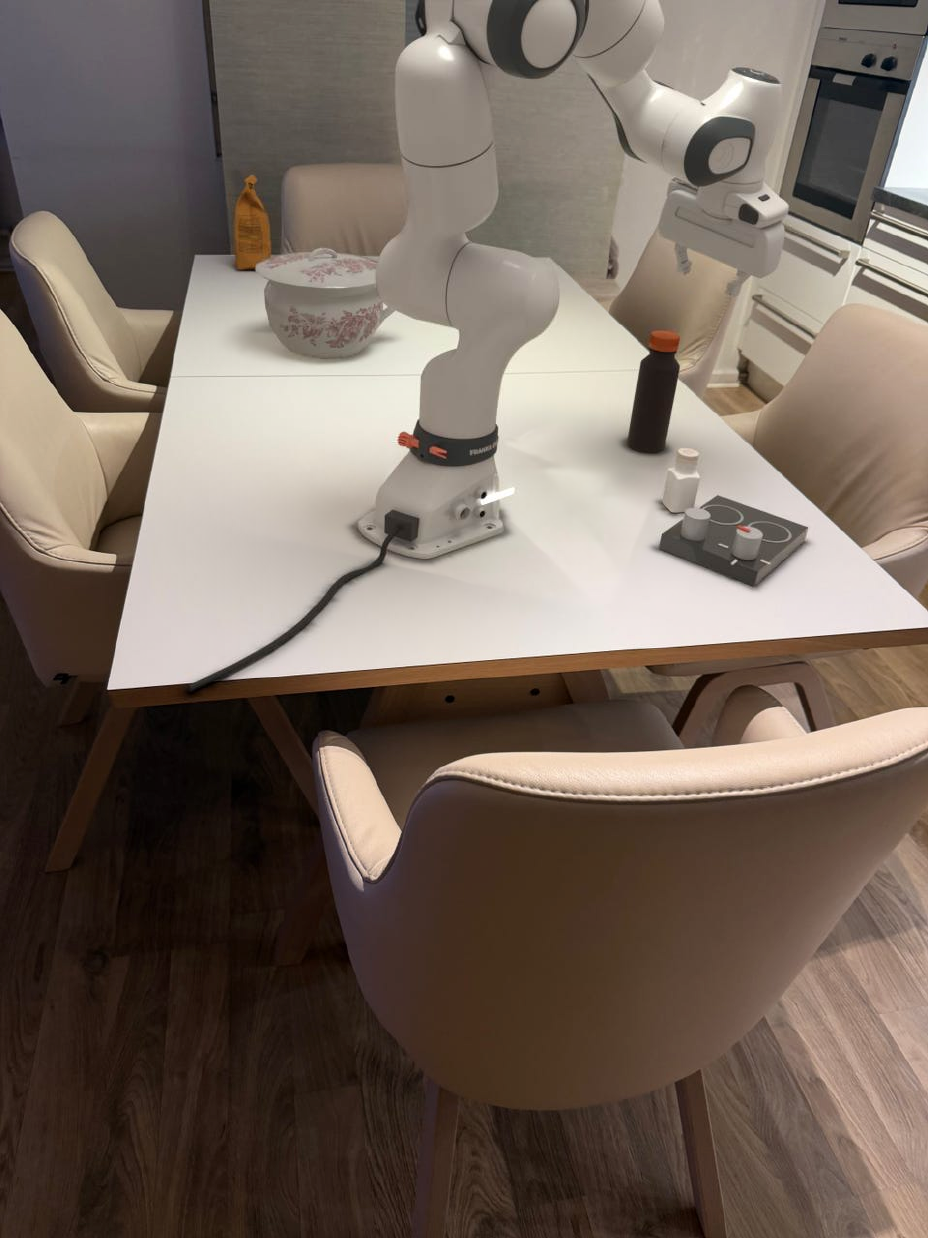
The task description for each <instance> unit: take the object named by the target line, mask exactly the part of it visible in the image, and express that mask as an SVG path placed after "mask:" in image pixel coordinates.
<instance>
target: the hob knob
mask: <svg viewBox="0 0 928 1238" xmlns="http://www.w3.org/2000/svg"><path fill="white" fill-rule="evenodd" d="M762 537H763V534H762V532H761V531H760V530H758V529H756V528H753V527H747V526H743V527H742V526H738V528H737V530H736V534H735V538H734V542H733V546H732V550H731V553H732V555H733V556H735V557H736V558H739V559H742V560H754V559H756V558H757V555H758V552H759V548H760V544H761V540H762Z"/></svg>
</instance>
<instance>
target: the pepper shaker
mask: <svg viewBox="0 0 928 1238" xmlns="http://www.w3.org/2000/svg"><path fill="white" fill-rule="evenodd" d="M699 456H700V453H699V451H698V450H697V449H694V448H691V447H690V448H689V447H682V448H679V449H678V450H677V453H676V459H675V466H673V467H670V468H669V469H668V470H667V474H666V479H665V483H664V490H663V494H662V498H661V499H662V501H661V502H662V504H663V505H664V507H665V508H667V509H668V511H670V512H671V513H676V514H677V513H685V511H686V510H687V509H688V508H695V504H696V499H697V495H698V490H699V485H700V480H701V475H700V474H699V473H698V471H697V470H696V468H697V466H698V461H699Z"/></svg>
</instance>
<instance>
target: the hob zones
mask: <svg viewBox="0 0 928 1238" xmlns="http://www.w3.org/2000/svg"><path fill="white" fill-rule="evenodd" d="M743 519H744V517H743V515H742V514H741V513H740V512H739V511H737V510H735V509H733V508H731V507H727V506H723V505H708V506H705V507H703V508H702V509H700V507H694V508H688V509H687V510H686V511H685V512H684V515H683V524H682V528H681V535H682V536H683V537H684V538H686V539H689V540H693V541H701V540H704V539H705V537H706V533H707V529H708V525H709V521H711V522H714V523H717V524H722V525H736V524H739V523H741V522H742V521H743ZM747 527H753V528H756V529H758V530H760V531H761V532H762V534H763V537H762V541H765V542H771V543H783V542H787V541H789V540H790V539H791V533H790V532H789V530H787V529H786V528H784V527H783V526H780V525H778V524H775V523H771V522H753V523H751V524H749V525H748V526H747Z"/></svg>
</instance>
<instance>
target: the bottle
mask: <svg viewBox="0 0 928 1238" xmlns="http://www.w3.org/2000/svg"><path fill="white" fill-rule="evenodd" d="M680 340H681V336H680V334H678V333H677V332H675V331H669V330H653V331H651V333H650V336H649V342H648V351H649V352H648V353H649V354H647V355H645V357H643V358H642V359H641V360H640V362H639V367H638V374H637V380H636V386H635V393H634V397H633V404H632V411H631V416H630V422H629V427H628V428H629V429H628V433H627V439H626V440H627V441H626V444H627V445H628V447H630V448H631V449H633V450H634V451H637V452H640V453H647V454H654V453H659V452H662V451H663V450H664V449H665V448H666V444H667V443H666V442H667V437H668V432H669V428H670V423H671V417H672V412H673V406H674V401H675V395H676V391H677V385H678V381H679V375H680V369H681V365H680V363H679V361H678V360H677V359H676V357H675V356H676V354H677V353H678V350H679V345H680Z"/></svg>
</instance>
